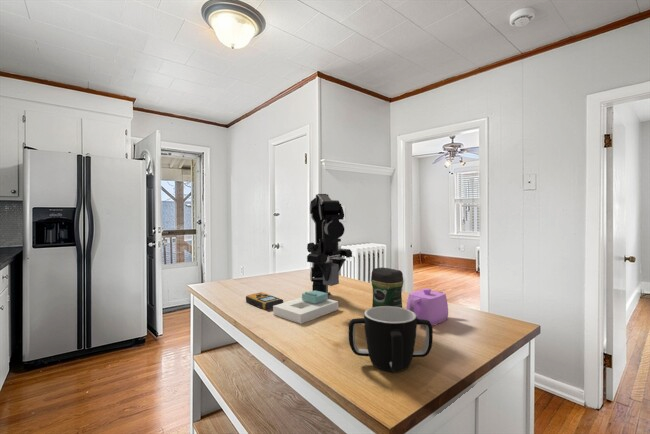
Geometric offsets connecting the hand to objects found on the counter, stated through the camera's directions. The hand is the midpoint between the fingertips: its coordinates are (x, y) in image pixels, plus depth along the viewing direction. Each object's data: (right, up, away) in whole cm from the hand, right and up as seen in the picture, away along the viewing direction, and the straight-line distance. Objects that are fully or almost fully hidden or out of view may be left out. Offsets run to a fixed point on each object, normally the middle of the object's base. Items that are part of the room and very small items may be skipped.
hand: (330, 279), depth 111 cm
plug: (0, -2, 0) cm, 2 cm away
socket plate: (-9, -12, +2) cm, 15 cm away
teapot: (+32, -12, -7) cm, 35 cm away
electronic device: (-26, -13, +12) cm, 31 cm away
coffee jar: (+17, -12, -14) cm, 26 cm away
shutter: (-6, -9, +5) cm, 11 cm away
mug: (+14, -13, -37) cm, 41 cm away
